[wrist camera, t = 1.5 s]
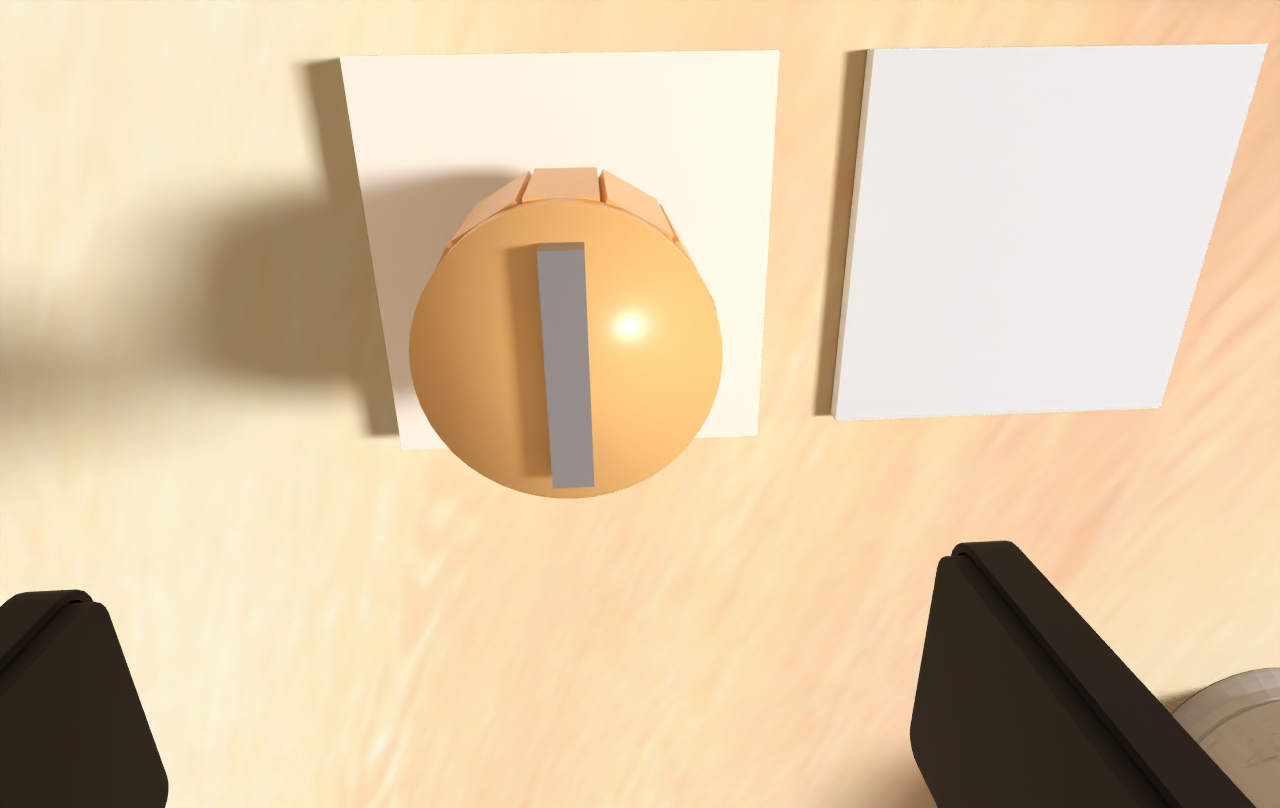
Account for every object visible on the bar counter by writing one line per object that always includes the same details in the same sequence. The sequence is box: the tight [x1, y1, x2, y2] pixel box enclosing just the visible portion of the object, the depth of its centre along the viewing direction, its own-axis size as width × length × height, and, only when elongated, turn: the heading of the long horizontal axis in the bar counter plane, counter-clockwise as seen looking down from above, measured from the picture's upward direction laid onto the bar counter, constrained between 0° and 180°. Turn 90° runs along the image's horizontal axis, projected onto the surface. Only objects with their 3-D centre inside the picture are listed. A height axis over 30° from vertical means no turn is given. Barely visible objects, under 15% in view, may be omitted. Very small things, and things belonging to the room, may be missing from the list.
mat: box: [831, 44, 1268, 421], centre depth 25 cm, size 12×12×1 cm
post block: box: [339, 50, 779, 450], centre depth 21 cm, size 12×12×8 cm
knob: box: [409, 167, 723, 498], centre depth 19 cm, size 7×7×6 cm
